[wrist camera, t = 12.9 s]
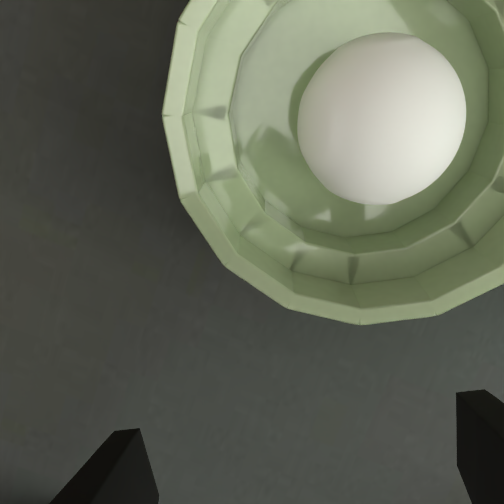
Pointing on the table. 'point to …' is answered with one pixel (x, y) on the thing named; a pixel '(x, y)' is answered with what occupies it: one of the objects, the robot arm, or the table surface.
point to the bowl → (302, 178)
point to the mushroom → (381, 118)
